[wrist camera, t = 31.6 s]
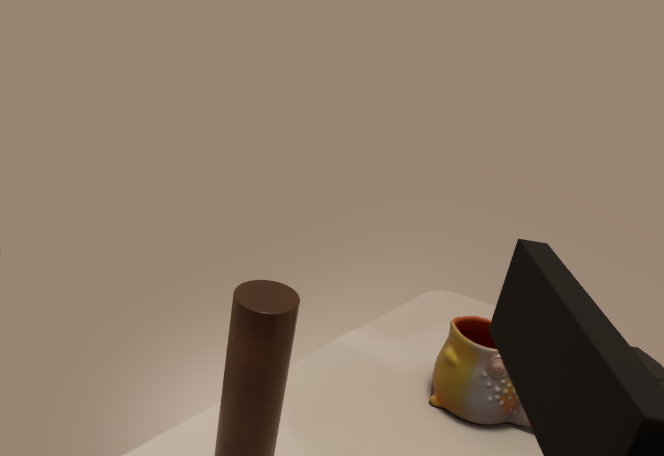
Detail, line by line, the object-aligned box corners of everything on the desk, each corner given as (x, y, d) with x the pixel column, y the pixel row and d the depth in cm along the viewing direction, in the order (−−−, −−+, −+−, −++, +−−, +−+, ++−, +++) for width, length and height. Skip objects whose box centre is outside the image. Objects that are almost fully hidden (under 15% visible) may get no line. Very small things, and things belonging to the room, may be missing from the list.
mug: (414, 400, 47) (433, 330, 44) (447, 363, 52) (465, 300, 50) (564, 480, 41) (595, 406, 39) (583, 430, 47) (612, 362, 44)
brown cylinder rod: (196, 590, 30) (227, 324, 24) (186, 518, 33) (210, 272, 27) (279, 573, 31) (328, 320, 25) (261, 506, 35) (299, 271, 29)
